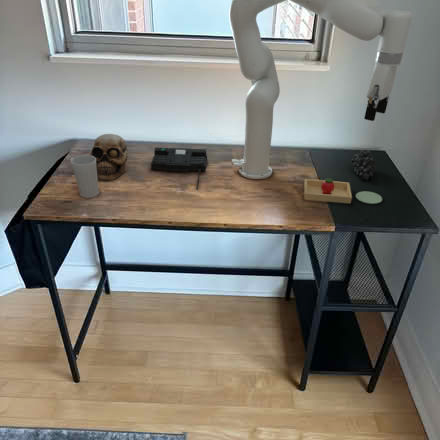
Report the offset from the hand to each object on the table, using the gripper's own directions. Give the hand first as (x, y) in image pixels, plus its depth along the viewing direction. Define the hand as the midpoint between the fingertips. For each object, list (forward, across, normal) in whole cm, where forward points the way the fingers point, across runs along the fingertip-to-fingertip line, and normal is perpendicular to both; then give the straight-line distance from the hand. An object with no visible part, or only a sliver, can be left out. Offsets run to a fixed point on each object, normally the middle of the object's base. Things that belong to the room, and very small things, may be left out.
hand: (374, 116), depth 146 cm
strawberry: (+25, +13, -6) cm, 29 cm away
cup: (+25, +63, -71) cm, 99 cm away
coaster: (+25, +6, +6) cm, 27 cm away
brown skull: (+25, +45, -80) cm, 95 cm away
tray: (+25, +13, -6) cm, 29 cm away
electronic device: (+25, +30, -60) cm, 71 cm away
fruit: (+25, -10, -3) cm, 27 cm away
